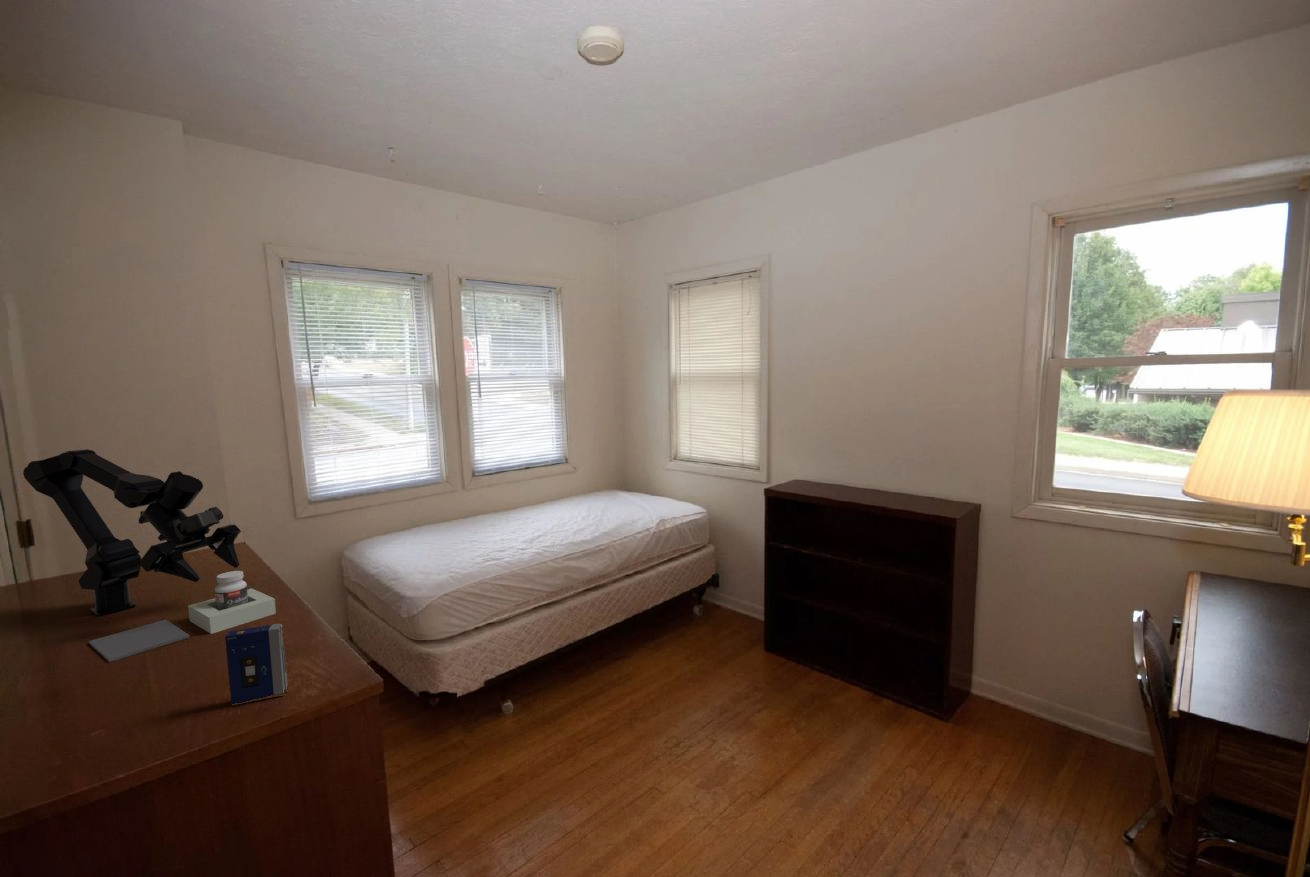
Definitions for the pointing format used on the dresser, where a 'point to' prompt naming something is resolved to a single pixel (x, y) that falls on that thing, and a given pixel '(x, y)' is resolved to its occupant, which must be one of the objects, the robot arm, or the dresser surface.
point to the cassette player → (256, 662)
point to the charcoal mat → (137, 640)
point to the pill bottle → (230, 590)
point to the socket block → (231, 612)
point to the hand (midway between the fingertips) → (218, 573)
